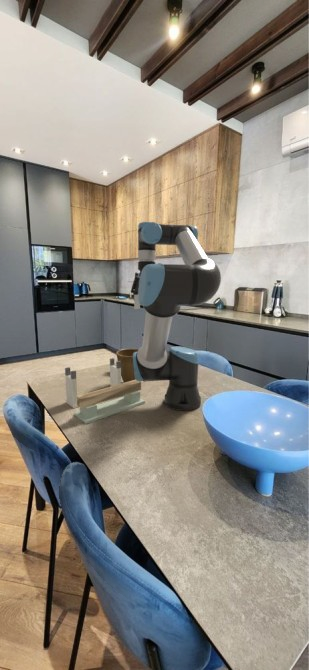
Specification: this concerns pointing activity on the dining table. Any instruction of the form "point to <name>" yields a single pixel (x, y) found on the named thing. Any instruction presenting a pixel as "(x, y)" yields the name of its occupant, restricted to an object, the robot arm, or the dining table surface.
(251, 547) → the dining table surface
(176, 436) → the dining table surface
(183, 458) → the dining table surface
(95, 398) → the rail
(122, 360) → the plant pot
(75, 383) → the stand
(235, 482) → the dining table surface
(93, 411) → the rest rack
